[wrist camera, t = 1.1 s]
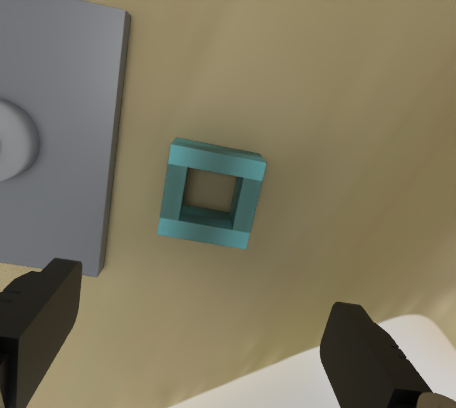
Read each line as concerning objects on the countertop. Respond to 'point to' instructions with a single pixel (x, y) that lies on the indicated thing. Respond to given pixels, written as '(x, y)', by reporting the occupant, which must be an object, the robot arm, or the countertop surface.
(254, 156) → the collar
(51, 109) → the shaft stand
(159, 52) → the countertop surface
